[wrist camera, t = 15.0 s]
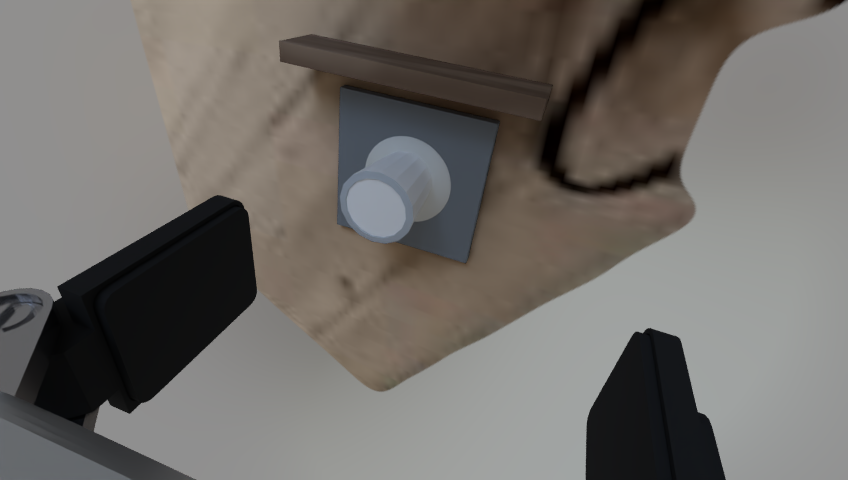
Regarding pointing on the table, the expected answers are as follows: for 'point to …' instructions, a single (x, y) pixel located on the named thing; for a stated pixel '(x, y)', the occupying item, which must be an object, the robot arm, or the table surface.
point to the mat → (436, 146)
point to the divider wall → (419, 75)
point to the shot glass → (386, 196)
